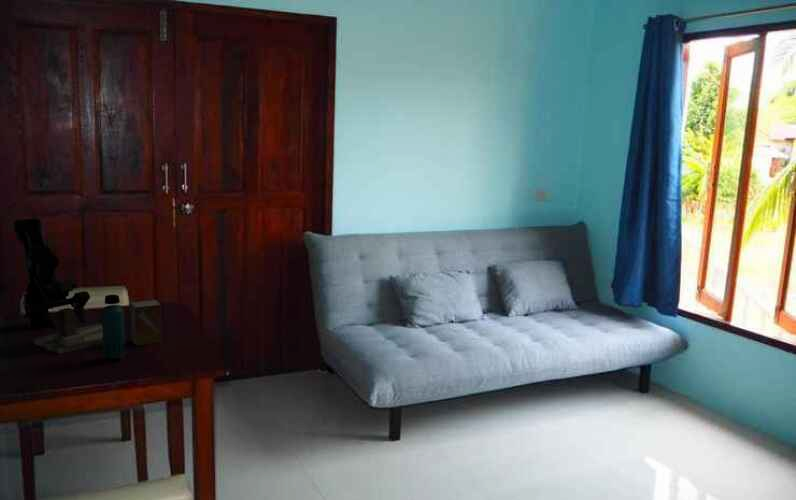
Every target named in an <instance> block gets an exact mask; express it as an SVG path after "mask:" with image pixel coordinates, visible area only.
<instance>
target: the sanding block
mask: <svg viewBox="0 0 796 500" xmlns="http://www.w3.org/2000/svg"><path fill="white" fill-rule="evenodd" d="M58 317H59V330H60V331H59V332H54V333H51V335H52V342H53V343H55V344H58V345H60V346H63V347H65V348H69V347H72V346H76V345H80V344H84V343H85V339H84V334H81V333H78V332H76V329H77V328H76V314H75V311H74V308H71V307H66V308H62V309H61V308H60V309H59V310H58Z"/></svg>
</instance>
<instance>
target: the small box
mask: <svg viewBox="0 0 796 500" xmlns="http://www.w3.org/2000/svg"><path fill="white" fill-rule="evenodd" d="M161 308H162V307H161V304H160V303H159V302H158V300H156V299H154V300H143V301H135V302H130V327H131V328H130V331H131V334H130V335H131V341H132V343H133V344H134V345H135V346H137V347H138V346H145V345H153V344H162V321H161V320H162V319H161V315H162V314H161V312H162V310H161Z"/></svg>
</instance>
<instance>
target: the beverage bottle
mask: <svg viewBox="0 0 796 500" xmlns="http://www.w3.org/2000/svg"><path fill="white" fill-rule="evenodd" d="M119 296H120V295H117V294H108V295H105V296H104V304H105V305H106V304H107V305H106V306H104V307H103V308H102V309H101V311H100V312H101V323H102V324H101V325H102V329H103V337H102V338H103V341H102V342H103V343H101V344H102V345H101V346H102V352H103V357H104V358H106V359H118V358H122V357H125V355H126V352H127V351H126V350H127V349H126V342H127V341H126V333H125V330H126V328H125V324H126V323H125V322H126V321H125V312H124V308H123V307H122V306H120V305H119V303H120V300H121V299H120V297H119ZM117 304H118V305H117Z"/></svg>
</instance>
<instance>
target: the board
mask: <svg viewBox="0 0 796 500" xmlns="http://www.w3.org/2000/svg"><path fill="white" fill-rule="evenodd" d="M75 329H76V332H78V333H81V334H84V339H85V343H84V344H80V345H76V346H72V347H69V348H65V347H63V346H60V345H58V344H55V343H53V342H52V334H48V335H44V336H40V337H36V338H33V344H35V345H37V346H39V347H42V348H45V349H47V350H49V351H51V352H54V353H56V354H58V355H60V354H65V353H68V352H69V353H70V352H72V351H75V350H77V351H78V350H81V349H83V348H84V349H85V348H87V347H90V346H94V345H95V346H96V345H98V344H99V345H100V344H103V342H102V341H103V338H102V337H103V329H102V324H100V323H95V324H90V325H87V326H81V327H78V328H77V327H76V328H75Z"/></svg>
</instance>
